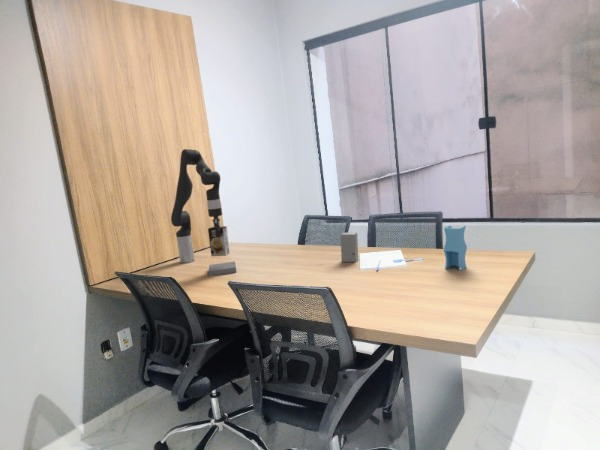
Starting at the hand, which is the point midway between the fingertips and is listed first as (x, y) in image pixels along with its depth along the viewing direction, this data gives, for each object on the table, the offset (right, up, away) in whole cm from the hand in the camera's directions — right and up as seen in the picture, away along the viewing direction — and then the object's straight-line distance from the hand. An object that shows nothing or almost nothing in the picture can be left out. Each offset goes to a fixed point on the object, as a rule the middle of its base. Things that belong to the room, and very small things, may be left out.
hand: (218, 236), depth 235 cm
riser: (+2, -20, +3) cm, 21 cm away
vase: (+122, -15, -36) cm, 127 cm away
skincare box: (+75, -14, -2) cm, 76 cm away
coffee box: (+1, -11, +2) cm, 11 cm away
